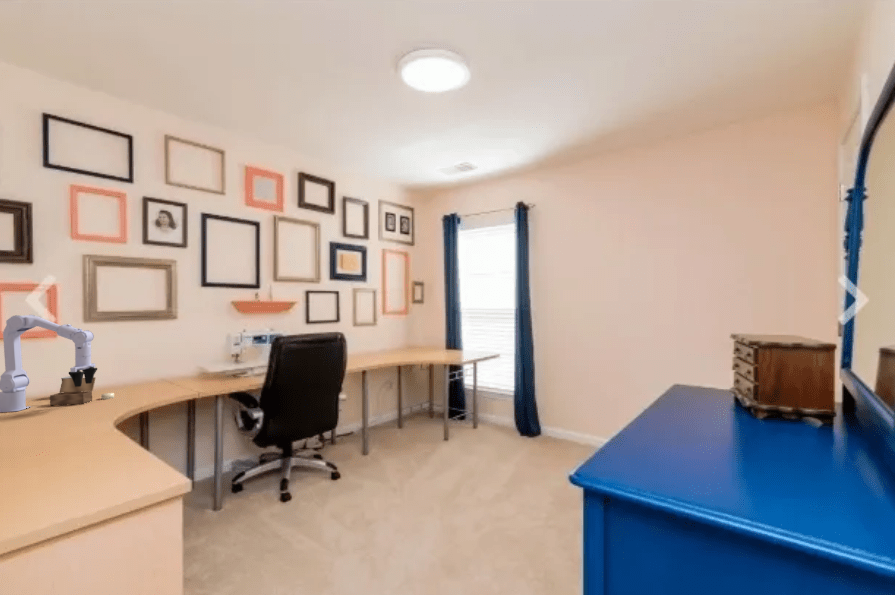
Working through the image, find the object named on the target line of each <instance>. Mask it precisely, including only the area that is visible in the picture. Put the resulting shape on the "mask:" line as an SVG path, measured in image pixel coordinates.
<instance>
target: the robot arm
mask: <svg viewBox="0 0 895 595" xmlns="http://www.w3.org/2000/svg"><path fill="white" fill-rule="evenodd" d="M5 323H6V325H5V327H4V329H3V331H2V338H3V339H2V340H3V351H4V352H3V353H4V354H3V356H4V366H5V367H4V369H5V370H4V372H3V373H2V374H1V375H0V413H10V412H11V413H12V412H20V411H23V410H26V408H27V409H29V407H30V408H31V407H32V406H28V405H27V406H26V400H27V399H26V393H27V392H26V391H27V390H26V389H27V387H28V386H29V385H30V382H31V381H30V380H31V379H30V377H29V376H28V372H27V371H26V370H25V369H24V368H23V358H22V356H23V355H22V346H21V345H22V344H21V335H23V334H25V332H27V331H30V330H31V329H34V328H35V327H39V328H43V329H46V330H49V331H52V332H56V335H57V336H59V337H62V338H65V339H68V340H71V341H72V342H73V343H74V350H75V351H74V352H75V353H74V354H75V355H74V356H75V357H74V360H75V362H74V366H73V367H70V371H68V375H69V376H71V378H72V379H73V382H74V385H75V387H80V386H81V384H82V378H85V382H86V384H89V383H92V380H93V377H95V374H96V372H97V371H98V367H96V363H95V362H94V363H92V341H93V340H94V338H95V335H94V333H93V332H92V331H90V330H88V329H87V330H83V328H80V327H79V328H77V327H74V326H72V324H69V323H68V324H67V323H66V324H62V325H61V324H58V323H56V322H53V321H51V320H48V319H46V318H43V317H41V316H38V315H34V314H26V315H25V314H23V315H21V314H20V315H18V314H16V315H12V316H10V317H9V318H8V319H6V322H5Z"/></svg>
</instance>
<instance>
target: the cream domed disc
mask: <svg viewBox="0 0 895 595" xmlns="http://www.w3.org/2000/svg"><path fill="white" fill-rule="evenodd" d="M100 397H101V398H100V399H101V400H103V399H104V400H111V399H110V398H112V399H114V398H115V393H114V392H108V393H107V392H105V393H102V394H101V396H100Z"/></svg>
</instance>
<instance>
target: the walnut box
mask: <svg viewBox="0 0 895 595" xmlns="http://www.w3.org/2000/svg"><path fill="white" fill-rule="evenodd" d="M90 401H91V402H93V391H82V392H65V393H64V392H61V393H60V392H58V393H55V394H51V395H50V396H49V405H60V406H68V405H67V404H79V405H85V404H84V403H86V404H88V403H91V402H90ZM87 402H88V403H87Z"/></svg>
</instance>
